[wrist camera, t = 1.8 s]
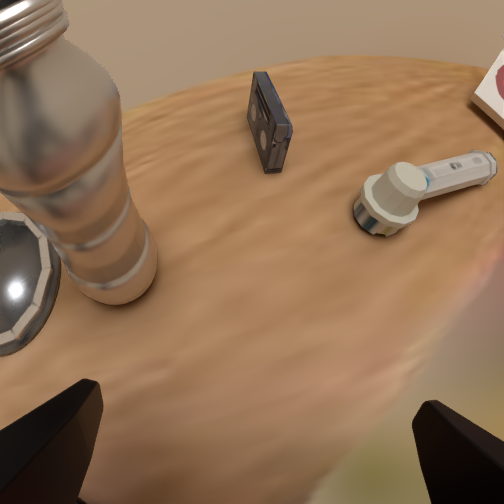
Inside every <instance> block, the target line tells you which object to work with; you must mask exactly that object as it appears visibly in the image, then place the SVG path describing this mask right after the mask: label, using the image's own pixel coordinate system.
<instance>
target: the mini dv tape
mask: <svg viewBox="0 0 504 504" xmlns="http://www.w3.org/2000/svg"><path fill="white" fill-rule="evenodd" d="M247 119H248V122H249V125H250V128H251V131H252V134H253V137H254V140H255V144H256V147H257V150H258V153H259V156H260V159H261V163H262V166H263V169H264V172H265V174H266V173H280V172H281V171H282V167H283V164H284V161H285V157H286V154H287V150H288V147H289V143H290V140H291V136H292V133H293V131H292V124H291V122H290V120H289V118H288V116H287V113H286V111H285V109H284V107H283V105H282V103H281V101H280V99H279V96H278V94H277V92H276V90H275V88H274V86H273V84H272V82H271V80H270V78H269V76H268V74H267V72H254V73H253V80H252V86H251V93H250V99H249V106H248V113H247Z"/></svg>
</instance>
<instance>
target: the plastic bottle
mask: <svg viewBox="0 0 504 504" xmlns="http://www.w3.org/2000/svg"><path fill="white" fill-rule="evenodd" d="M68 26H69V21H68V15H67V12H66V11H65V10H64V9H63V4H62V0H0V192H1V193H2V194H3V195H4V196H5V197H6V198H7V199H8V200H9V201H10V202H11V203H12V204H14V205H15V206H16V207H17V208H18V209H19V210H20V211H21V212H22V213H23V214H25V215H26V216H27V217H28V218H29V219H30V220H31V221H32V223H33V224H34V225H35V226H36V227H37V228H38V229H39V230H40V232H42V233H43V234H44V236H45V237H46V238H47V239H48V240H49V241H50V242H51V243H52V245H53V246H54V248H55V250H56V251H57V253H58V254H59V256H60V257H61V259H62V260H63V262H64V264H65V267H66V269H67V271H68V273H69V275H70V277H71V279H72V280H73V282H74V284H75V285H76V286H77V287H78V289H79V290H80V291H81V292H83V293H84V294H85V295H86V296H88V297H90V298H92V299H94V300H96V301H98V302H101V303H104V304H108V305H119V304H125V303H128V302H131V301H133V300H135V299H136V298H138V297H140V296H141V295H142V294H143V293H144V292H145V291H146V290H147V289H148V287H149V286H150V285H151V283H152V281H153V279H154V277H155V273H156V269H157V247H156V242H155V240H154V237H153V235H152V233H151V232H150V230H149V228H148V226H147V225H146V223H145V222H144V220H143V219H142V218H141V217H140V215H139V213H138V211H137V209H136V206H135V204H134V202H133V200H132V198H131V195H130V191H129V187H128V182H127V177H126V172H125V167H124V162H123V146H122V121H121V105H120V95H119V92H118V89H117V87H116V85H115V83H114V82H113V80H112V79H111V76H110V75H109V73H108V71H107V70H106V69H105V68H104V67H103V66H102V65H101V64H100V63H98V62H97V61H96V60H95V59H94V58H93V57H91V56H90V55H89V54H88V53H86V52H85V51H83V50H82V49H80V48H79V47H77V46H75V45H74V44H72V43H70V42H69V41H67V40H66V39H65V38H64V36H63V33H64V32H65V31H66V30H67V28H68Z"/></svg>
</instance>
